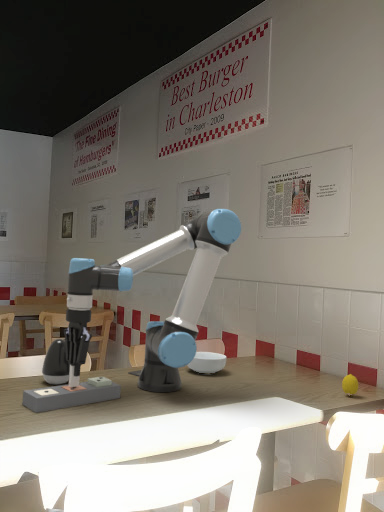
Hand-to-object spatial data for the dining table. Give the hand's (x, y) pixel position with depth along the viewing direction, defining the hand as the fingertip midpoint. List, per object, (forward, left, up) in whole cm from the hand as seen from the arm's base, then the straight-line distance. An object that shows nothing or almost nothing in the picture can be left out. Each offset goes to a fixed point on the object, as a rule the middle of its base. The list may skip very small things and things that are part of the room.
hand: (73, 386), depth 147 cm
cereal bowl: (-25, -60, -5) cm, 65 cm away
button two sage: (-5, -8, -2) cm, 9 cm away
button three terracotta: (0, 0, -3) cm, 3 cm away
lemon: (-81, -51, -5) cm, 96 cm away
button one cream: (+4, +8, -3) cm, 10 cm away
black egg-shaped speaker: (+16, -16, -5) cm, 23 cm away
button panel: (0, 0, -5) cm, 5 cm away
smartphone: (-5, -47, -5) cm, 48 cm away
